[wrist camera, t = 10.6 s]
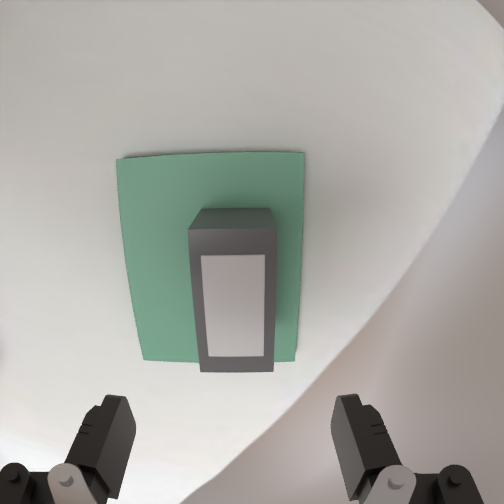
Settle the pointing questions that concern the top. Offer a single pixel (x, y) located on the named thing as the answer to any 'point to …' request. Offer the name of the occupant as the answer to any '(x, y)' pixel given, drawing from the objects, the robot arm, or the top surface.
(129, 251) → the board
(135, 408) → the top surface
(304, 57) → the top surface
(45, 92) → the top surface
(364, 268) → the top surface
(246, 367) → the block
